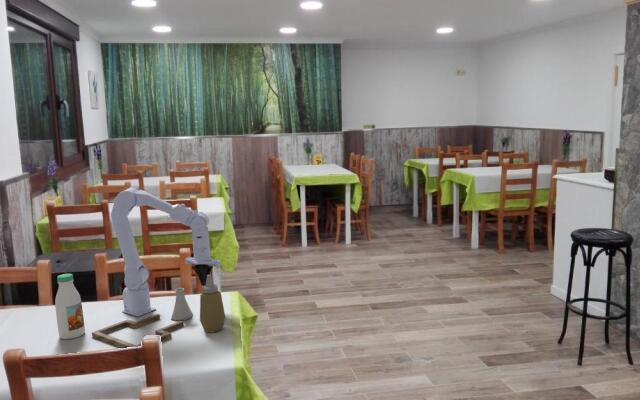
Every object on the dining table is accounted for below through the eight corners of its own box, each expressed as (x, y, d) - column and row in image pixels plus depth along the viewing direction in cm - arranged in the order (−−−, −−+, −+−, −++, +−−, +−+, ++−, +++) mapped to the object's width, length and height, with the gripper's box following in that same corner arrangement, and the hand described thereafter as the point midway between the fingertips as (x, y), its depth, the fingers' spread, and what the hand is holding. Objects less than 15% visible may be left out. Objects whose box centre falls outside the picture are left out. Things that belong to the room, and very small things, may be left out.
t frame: (92, 337, 177) (91, 332, 176) (149, 315, 193) (148, 311, 193) (135, 353, 163) (135, 348, 163) (192, 328, 180) (192, 324, 179)
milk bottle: (59, 341, 174) (51, 280, 171) (58, 333, 181) (51, 274, 178) (86, 336, 178) (79, 275, 174) (84, 328, 184) (77, 270, 181)
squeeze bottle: (202, 325, 182) (197, 272, 179) (227, 323, 182) (223, 270, 180) (199, 335, 174) (194, 279, 171) (225, 333, 174) (220, 277, 172)
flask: (187, 321, 186) (184, 292, 185) (167, 320, 188) (164, 292, 186) (196, 313, 193) (194, 286, 192) (177, 313, 195) (174, 285, 193)
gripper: (177, 248, 195) (181, 286, 198) (210, 251, 189) (213, 290, 191) (191, 244, 202) (194, 280, 204) (223, 246, 195) (226, 284, 197)
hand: (204, 284), depth 198 cm, fingers closed
